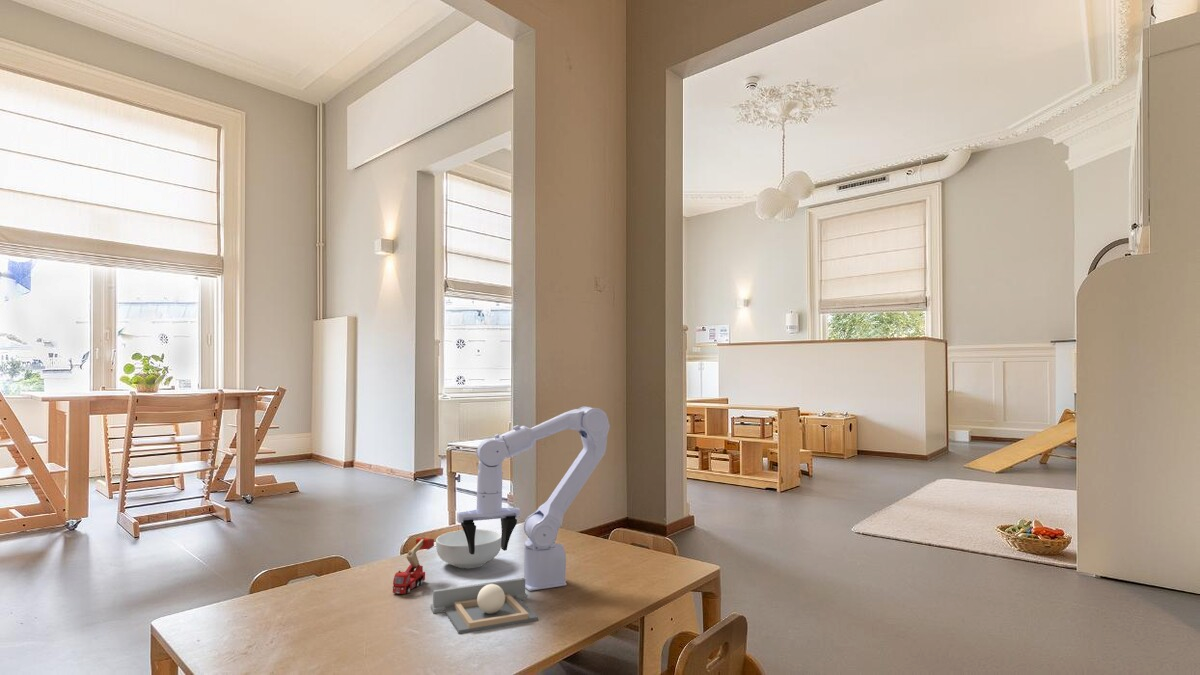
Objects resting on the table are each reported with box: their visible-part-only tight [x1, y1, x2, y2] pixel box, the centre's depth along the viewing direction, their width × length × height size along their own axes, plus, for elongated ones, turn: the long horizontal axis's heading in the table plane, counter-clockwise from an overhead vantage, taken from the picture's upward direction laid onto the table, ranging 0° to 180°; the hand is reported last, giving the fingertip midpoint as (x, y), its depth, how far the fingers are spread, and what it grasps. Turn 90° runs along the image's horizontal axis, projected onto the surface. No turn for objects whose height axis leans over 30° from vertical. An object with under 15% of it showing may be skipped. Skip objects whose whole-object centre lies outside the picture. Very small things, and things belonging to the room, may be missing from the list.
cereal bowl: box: [435, 528, 502, 569], centre depth 161 cm, size 17×17×7 cm
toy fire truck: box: [392, 537, 435, 595], centre depth 144 cm, size 3×14×10 cm, turn 168°
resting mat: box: [443, 594, 539, 635], centre depth 127 cm, size 16×12×2 cm
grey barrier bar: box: [430, 577, 529, 614], centre depth 133 cm, size 20×3×4 cm, turn 117°
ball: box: [477, 584, 505, 614], centre depth 127 cm, size 6×6×6 cm
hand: (488, 551), depth 143 cm, fingers open, 7 cm apart
